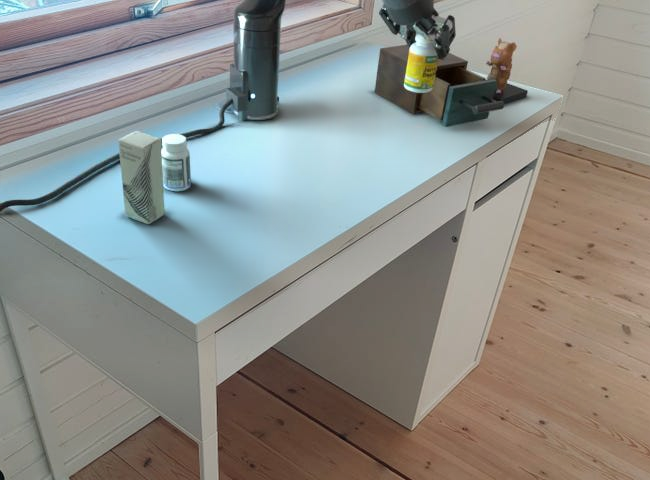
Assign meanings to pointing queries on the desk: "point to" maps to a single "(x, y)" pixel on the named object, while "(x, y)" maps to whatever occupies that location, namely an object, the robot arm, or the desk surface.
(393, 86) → the cabinet
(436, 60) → the supplement bottle
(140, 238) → the desk surface
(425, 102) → the drawer
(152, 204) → the box
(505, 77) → the figurine
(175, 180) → the pill bottle
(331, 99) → the desk surface
